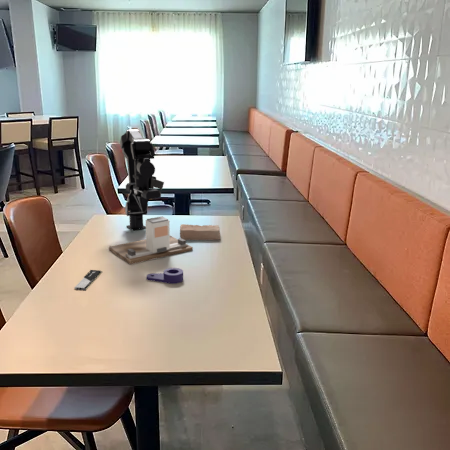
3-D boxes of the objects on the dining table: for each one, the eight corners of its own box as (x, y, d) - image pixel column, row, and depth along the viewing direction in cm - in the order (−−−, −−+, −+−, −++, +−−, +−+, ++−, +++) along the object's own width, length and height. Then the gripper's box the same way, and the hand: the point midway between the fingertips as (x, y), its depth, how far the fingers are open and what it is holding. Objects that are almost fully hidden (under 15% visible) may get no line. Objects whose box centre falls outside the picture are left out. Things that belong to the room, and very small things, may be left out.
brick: (219, 234, 200) (219, 223, 199) (220, 240, 192) (220, 229, 191) (180, 234, 199) (180, 223, 197) (179, 240, 191) (179, 229, 189)
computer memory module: (85, 288, 143) (72, 287, 144) (85, 291, 144) (72, 290, 144) (102, 270, 157) (91, 269, 158) (102, 273, 158) (91, 272, 158)
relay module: (146, 248, 174) (145, 218, 170) (162, 245, 178) (162, 216, 174) (153, 253, 170) (153, 222, 166) (170, 249, 174) (170, 219, 170)
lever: (184, 277, 156) (184, 268, 155) (181, 285, 150) (181, 275, 149) (149, 275, 157) (148, 266, 156) (144, 282, 151) (144, 273, 150)
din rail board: (108, 249, 178) (108, 240, 177) (168, 237, 193) (168, 229, 192) (130, 264, 164) (129, 254, 163) (192, 250, 179) (192, 241, 178)
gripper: (172, 174, 178) (173, 214, 183) (149, 167, 193) (150, 203, 197) (146, 177, 172) (147, 218, 176) (124, 169, 186) (126, 207, 191)
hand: (143, 211), depth 185 cm, fingers closed
